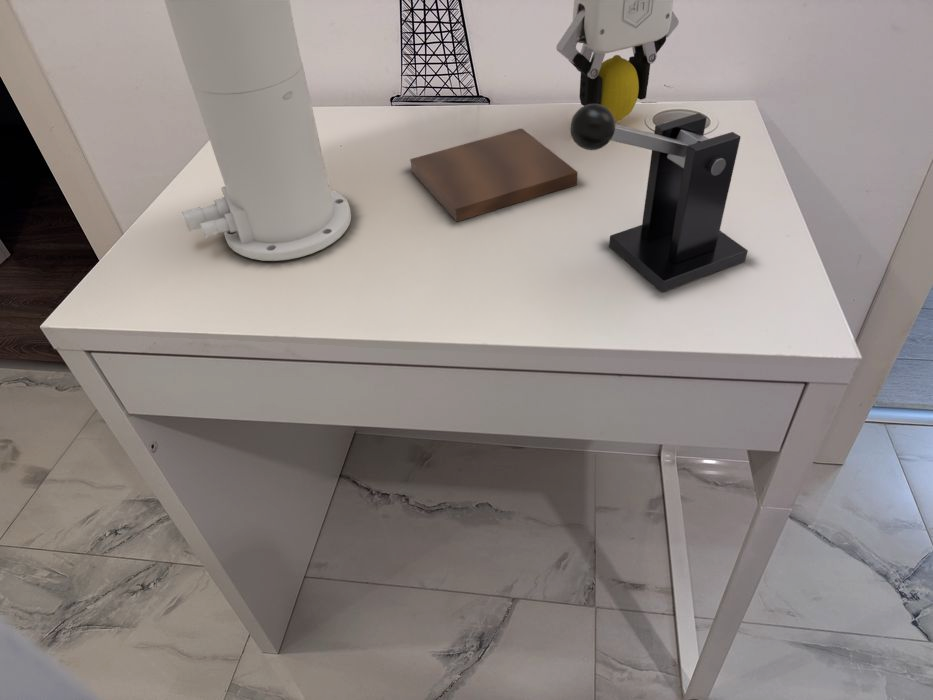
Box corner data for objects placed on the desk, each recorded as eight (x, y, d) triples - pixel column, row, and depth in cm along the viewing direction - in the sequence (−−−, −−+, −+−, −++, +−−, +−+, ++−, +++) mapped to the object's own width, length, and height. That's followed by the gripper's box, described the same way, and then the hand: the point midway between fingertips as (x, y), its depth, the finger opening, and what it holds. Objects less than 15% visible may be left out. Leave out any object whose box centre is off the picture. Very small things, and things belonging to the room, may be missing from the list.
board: (456, 222, 69) (455, 209, 68) (411, 171, 77) (409, 158, 76) (577, 184, 73) (577, 171, 71) (522, 140, 81) (521, 128, 80)
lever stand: (662, 292, 59) (683, 166, 51) (608, 246, 64) (620, 125, 56) (745, 261, 61) (778, 136, 53) (687, 219, 67) (709, 99, 59)
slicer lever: (578, 153, 49) (597, 109, 47) (555, 135, 51) (573, 93, 49) (708, 181, 56) (728, 143, 55) (682, 164, 58) (701, 128, 57)
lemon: (638, 133, 80) (646, 63, 75) (590, 135, 80) (594, 66, 75) (630, 112, 84) (638, 45, 79) (585, 115, 85) (589, 47, 79)
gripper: (574, -55, 63) (566, 132, 76) (723, -84, 68) (693, 96, 80) (533, -70, 68) (532, 107, 81) (675, -96, 73) (654, 74, 85)
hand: (613, 100), depth 80 cm, fingers closed on lemon, 5 cm apart
